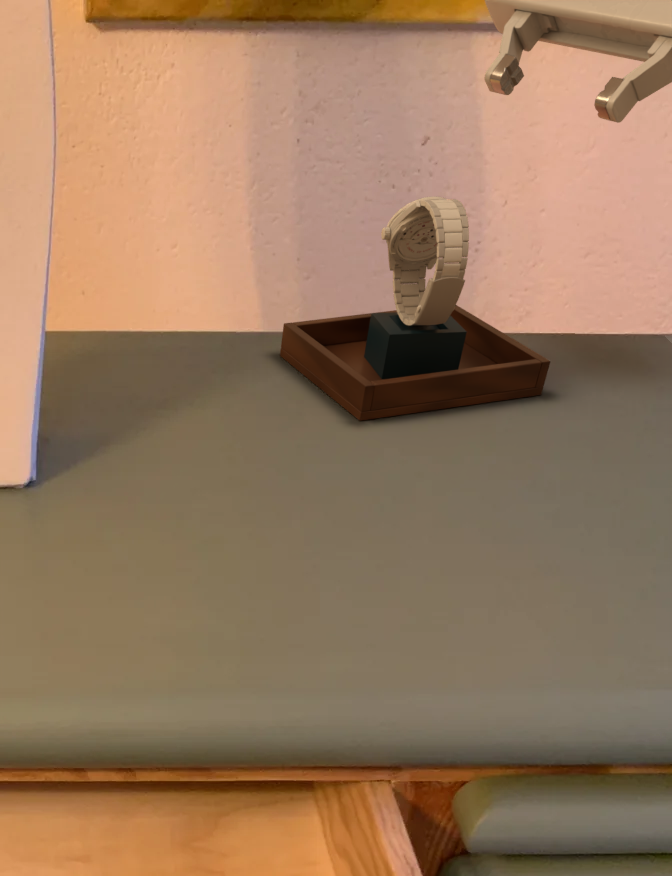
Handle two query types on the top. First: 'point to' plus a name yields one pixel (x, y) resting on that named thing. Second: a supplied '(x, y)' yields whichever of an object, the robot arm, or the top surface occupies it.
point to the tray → (368, 396)
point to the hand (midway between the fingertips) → (547, 100)
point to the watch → (422, 291)
